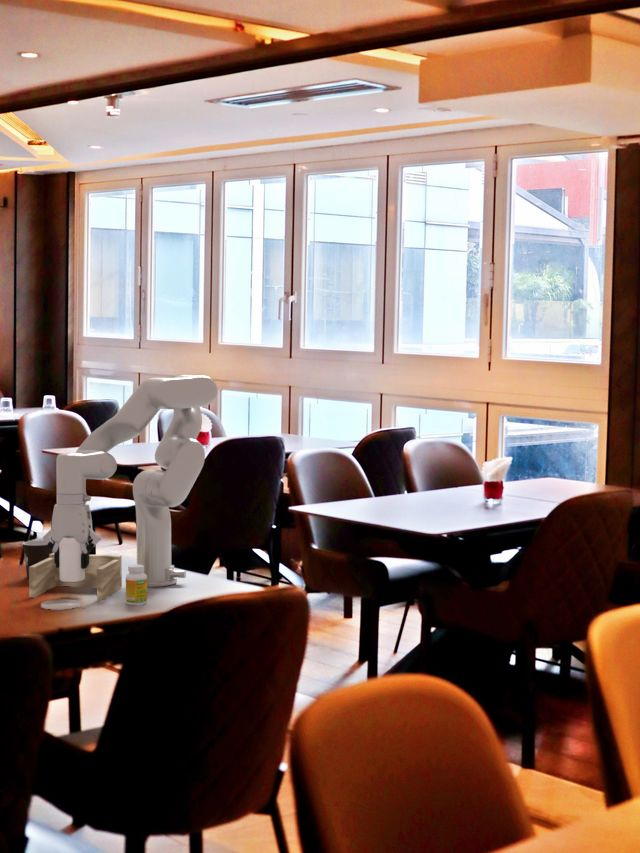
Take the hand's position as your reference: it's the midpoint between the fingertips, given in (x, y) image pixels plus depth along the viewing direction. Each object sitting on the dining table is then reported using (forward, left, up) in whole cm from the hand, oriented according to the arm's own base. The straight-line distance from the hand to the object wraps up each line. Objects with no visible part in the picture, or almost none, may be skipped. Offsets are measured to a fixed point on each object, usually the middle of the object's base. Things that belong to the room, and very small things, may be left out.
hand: (71, 566), depth 320 cm
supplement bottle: (-20, +6, -8) cm, 22 cm away
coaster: (-2, +12, -8) cm, 15 cm away
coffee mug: (+18, -24, -8) cm, 31 cm away
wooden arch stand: (0, -4, -8) cm, 8 cm away
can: (0, 0, -4) cm, 4 cm away
